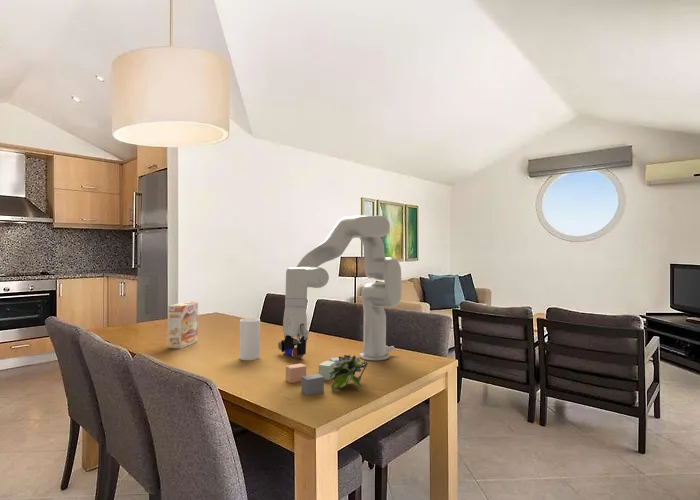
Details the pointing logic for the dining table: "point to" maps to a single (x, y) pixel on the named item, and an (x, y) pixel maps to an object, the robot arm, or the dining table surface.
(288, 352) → the figurine character
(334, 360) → the slate-blue brick
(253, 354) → the cup
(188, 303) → the coffeecake box
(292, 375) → the terracotta brick
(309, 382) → the charcoal brick
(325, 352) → the dining table surface
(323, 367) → the sage brick
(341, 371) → the passion flower
